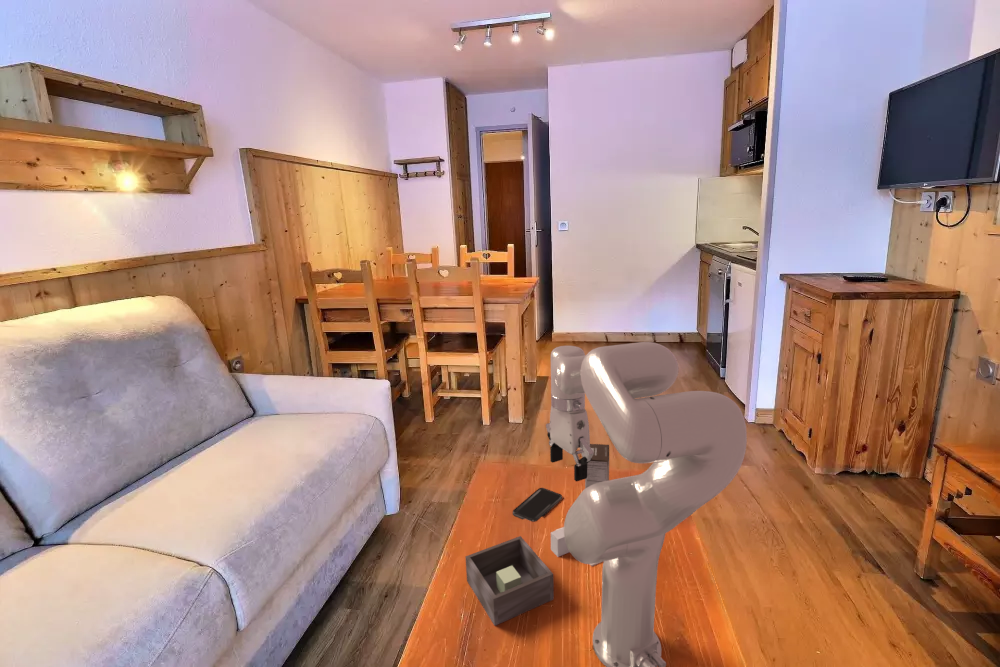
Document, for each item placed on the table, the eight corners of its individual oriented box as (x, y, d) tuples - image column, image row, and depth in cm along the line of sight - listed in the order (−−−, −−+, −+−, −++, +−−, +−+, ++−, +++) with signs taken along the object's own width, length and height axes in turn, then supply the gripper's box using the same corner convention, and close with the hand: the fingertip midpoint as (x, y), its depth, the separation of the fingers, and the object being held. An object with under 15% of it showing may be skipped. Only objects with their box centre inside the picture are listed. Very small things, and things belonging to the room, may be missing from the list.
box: (553, 601, 105) (553, 573, 103) (494, 628, 99) (493, 599, 97) (521, 561, 117) (520, 535, 115) (467, 582, 111) (465, 556, 109)
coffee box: (585, 492, 143) (586, 442, 139) (608, 494, 142) (609, 444, 138) (584, 511, 135) (585, 458, 131) (608, 513, 133) (609, 460, 129)
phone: (510, 512, 134) (540, 486, 146) (511, 515, 135) (540, 490, 146) (535, 522, 130) (563, 495, 141) (535, 526, 130) (563, 498, 142)
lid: (611, 559, 117) (612, 538, 116) (559, 582, 111) (559, 559, 109) (575, 525, 130) (575, 505, 128) (526, 544, 124) (526, 523, 122)
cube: (521, 592, 107) (521, 576, 106) (505, 599, 105) (504, 583, 104) (512, 580, 110) (512, 565, 109) (496, 587, 109) (496, 571, 107)
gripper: (606, 410, 104) (604, 482, 109) (560, 386, 120) (560, 450, 124) (576, 418, 101) (576, 492, 105) (533, 392, 116) (535, 458, 120)
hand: (568, 469), depth 115 cm, fingers open, 9 cm apart
